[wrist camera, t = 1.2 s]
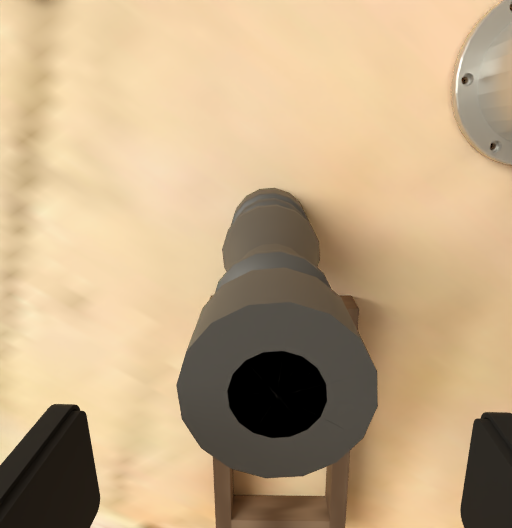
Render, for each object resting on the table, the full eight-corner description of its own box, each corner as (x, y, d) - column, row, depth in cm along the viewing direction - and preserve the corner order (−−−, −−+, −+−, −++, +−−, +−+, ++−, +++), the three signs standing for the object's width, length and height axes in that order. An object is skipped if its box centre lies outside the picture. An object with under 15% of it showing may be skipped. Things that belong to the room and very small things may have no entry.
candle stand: (351, 295, 38) (373, 336, 30) (339, 508, 44) (355, 585, 36) (210, 295, 38) (196, 335, 30) (219, 506, 44) (209, 583, 37)
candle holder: (236, 183, 35) (172, 280, 11) (311, 192, 35) (409, 305, 11) (229, 256, 37) (162, 474, 13) (301, 264, 37) (367, 495, 13)
